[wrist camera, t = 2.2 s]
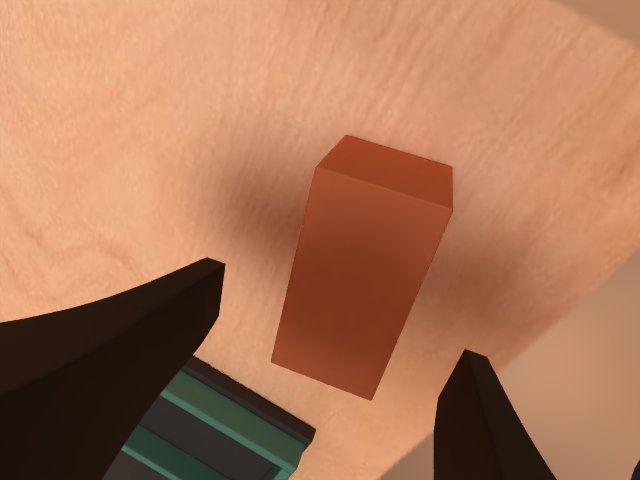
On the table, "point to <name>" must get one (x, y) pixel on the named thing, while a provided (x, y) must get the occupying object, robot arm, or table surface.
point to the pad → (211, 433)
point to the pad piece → (360, 262)
